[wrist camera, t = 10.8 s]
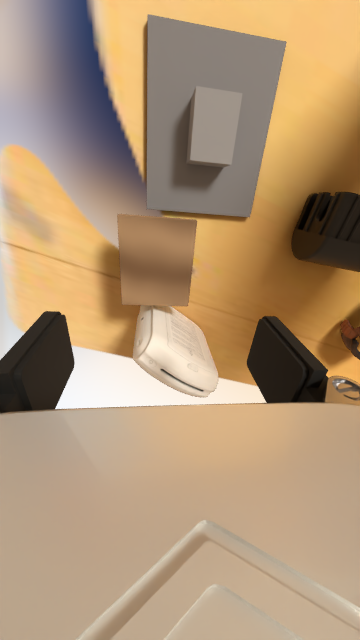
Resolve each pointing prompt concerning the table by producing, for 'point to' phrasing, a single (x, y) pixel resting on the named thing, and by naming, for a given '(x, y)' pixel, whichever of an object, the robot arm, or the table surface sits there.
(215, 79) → the rubber mat
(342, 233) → the end cap
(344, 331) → the brown piece
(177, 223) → the walnut board
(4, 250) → the table surface
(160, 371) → the photo printer
